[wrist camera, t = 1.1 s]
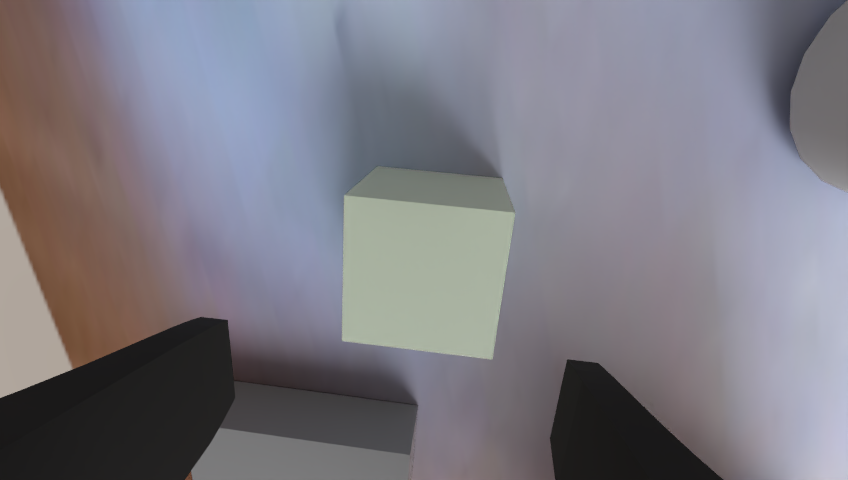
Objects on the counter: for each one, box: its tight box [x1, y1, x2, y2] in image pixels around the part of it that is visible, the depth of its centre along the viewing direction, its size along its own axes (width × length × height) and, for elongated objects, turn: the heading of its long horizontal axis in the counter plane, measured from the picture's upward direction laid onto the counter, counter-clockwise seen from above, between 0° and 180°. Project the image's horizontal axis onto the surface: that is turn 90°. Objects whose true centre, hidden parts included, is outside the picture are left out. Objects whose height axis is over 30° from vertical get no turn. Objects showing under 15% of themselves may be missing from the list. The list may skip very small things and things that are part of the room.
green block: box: [342, 166, 515, 360], centre depth 16 cm, size 5×5×5 cm
